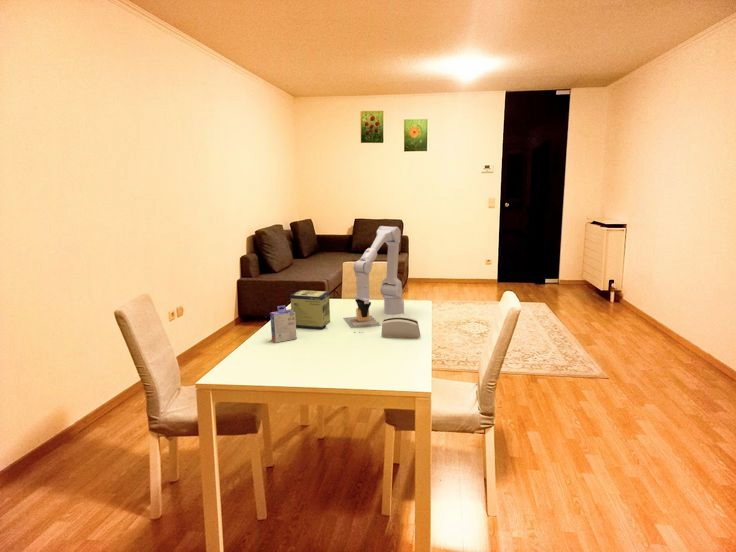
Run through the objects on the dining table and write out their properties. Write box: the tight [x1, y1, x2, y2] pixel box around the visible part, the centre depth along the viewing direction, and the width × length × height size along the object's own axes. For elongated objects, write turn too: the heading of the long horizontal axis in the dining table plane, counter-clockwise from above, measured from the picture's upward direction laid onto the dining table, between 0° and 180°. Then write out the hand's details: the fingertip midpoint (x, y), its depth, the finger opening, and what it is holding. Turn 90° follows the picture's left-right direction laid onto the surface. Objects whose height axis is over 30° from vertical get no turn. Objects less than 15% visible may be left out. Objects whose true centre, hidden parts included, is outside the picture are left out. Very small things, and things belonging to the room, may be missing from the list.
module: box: [355, 307, 370, 321], centre depth 235 cm, size 5×4×5 cm
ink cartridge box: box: [269, 304, 298, 343], centre depth 218 cm, size 10×6×14 cm, turn 121°
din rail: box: [350, 316, 378, 327], centre depth 236 cm, size 11×7×2 cm, turn 104°
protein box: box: [290, 289, 331, 331], centre depth 237 cm, size 10×16×16 cm
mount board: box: [342, 315, 382, 329], centre depth 240 cm, size 14×18×1 cm
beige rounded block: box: [381, 315, 421, 339], centre depth 220 cm, size 17×5×10 cm, turn 79°
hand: (363, 315), depth 235 cm, fingers closed on module, 4 cm apart
